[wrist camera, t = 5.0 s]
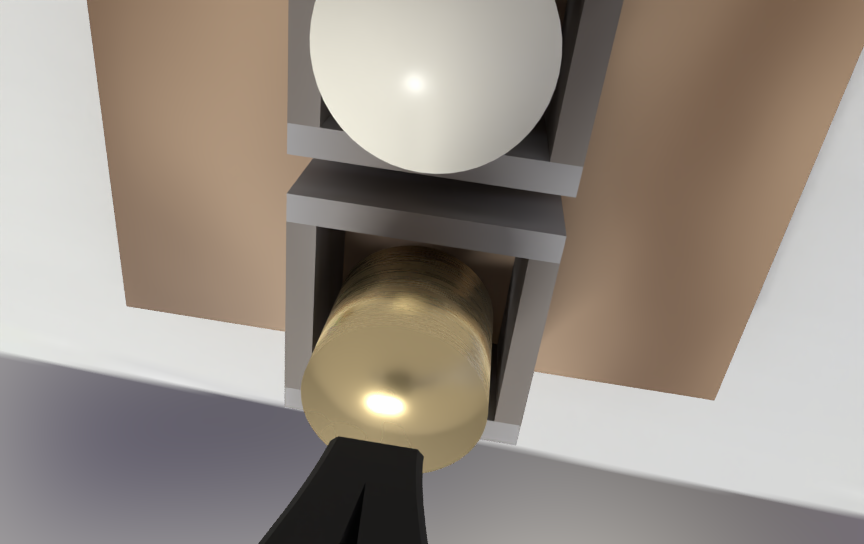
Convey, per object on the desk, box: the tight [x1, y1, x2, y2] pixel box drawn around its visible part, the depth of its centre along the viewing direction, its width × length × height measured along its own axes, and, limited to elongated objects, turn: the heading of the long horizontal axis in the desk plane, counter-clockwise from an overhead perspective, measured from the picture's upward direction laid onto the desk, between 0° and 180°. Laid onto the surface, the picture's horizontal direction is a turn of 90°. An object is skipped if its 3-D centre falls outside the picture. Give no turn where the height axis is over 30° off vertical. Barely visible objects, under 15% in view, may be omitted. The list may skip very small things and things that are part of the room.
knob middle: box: [310, 0, 562, 174], centre depth 10 cm, size 3×3×3 cm
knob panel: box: [87, 0, 864, 445], centre depth 13 cm, size 16×18×5 cm
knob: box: [301, 245, 493, 473], centre depth 14 cm, size 3×3×3 cm
